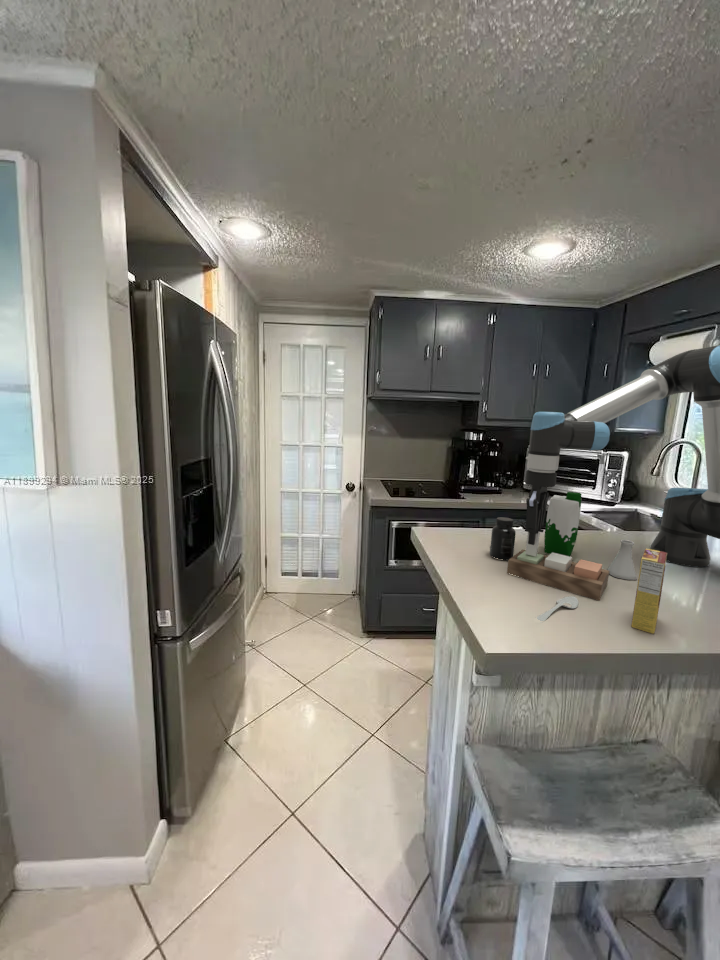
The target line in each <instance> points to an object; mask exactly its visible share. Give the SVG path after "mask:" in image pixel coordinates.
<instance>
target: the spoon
mask: <svg viewBox="0 0 720 960" xmlns="http://www.w3.org/2000/svg"><path fill="white" fill-rule="evenodd" d="M556 603H557V604H556V605H555V606H554V607H552V608H549V609H548V610H546V611H545V612H543V613H541V614H540V615H537V616H536V617H537V619H538V620H540V621H544V622H545V621H546V620H548V618H549V617H550V616H551V615H552V614H553V612H555V611H556V610H557V609H559V608H560V607H564V608H568V609H577V607H579V600H578V598H577V597H576V596H572V595H571V596H564V597H563V598H560V599H557V600H556ZM566 604H569V605H571V606H568V605H566Z"/></svg>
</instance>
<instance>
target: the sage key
mask: <svg viewBox="0 0 720 960" xmlns="http://www.w3.org/2000/svg"><path fill="white" fill-rule="evenodd" d="M524 550H525V551H524V552H523V553H522V554H520V555H519V556H518V557H517V559H518V560H521V561H525V562H529V563H533V564H538V563H540V562H541V561H542V560H543V558H544V555H545V554H544V555H542V554H543V553H540V554H538V553H539V552H537V556H536V557H535V556H531V555H527V554H525V552H526V549H524Z"/></svg>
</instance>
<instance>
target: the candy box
mask: <svg viewBox="0 0 720 960" xmlns="http://www.w3.org/2000/svg"><path fill="white" fill-rule="evenodd" d="M643 551H644V552H643V554H642V556H641V560H640V565H639V572H638V578H637V586H636V587H637V588H636V592H635V593H636V594H635V598H634V605H633V612H632V618H631V619H632V620H631V626H630V627H631V628H633V629H636V630H639V631H643V632H645V633H649V634H652V635H653V634H654V635H655V631H656V627H657V621H658V616H659V610H660V604H661V598H662V591H663V585H664V579H665V570H666V563H667V561H666V558H667V553H666V552H662V551H657V550H651V549H650V548H645V549H644V550H643Z"/></svg>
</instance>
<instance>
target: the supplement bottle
mask: <svg viewBox="0 0 720 960" xmlns="http://www.w3.org/2000/svg"><path fill="white" fill-rule="evenodd" d="M495 520H496V521H495V525H494V526H493V527H492V529H491V536H490V537H491V538H490V547H489V555H490V557H491V556H493V557H495V558H498V559H503V560H502V561H508V560H509V559H510V558H512V557H513V556H514V553H515V543H516V535H517V534H516V533H517V532H516V530H515V529H514V528H513V526H514V519H513V518H509V517H499V516H498V517H496V519H495ZM493 557H492V558H493ZM495 558H494V559H495ZM498 559H497V560H498Z"/></svg>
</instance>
